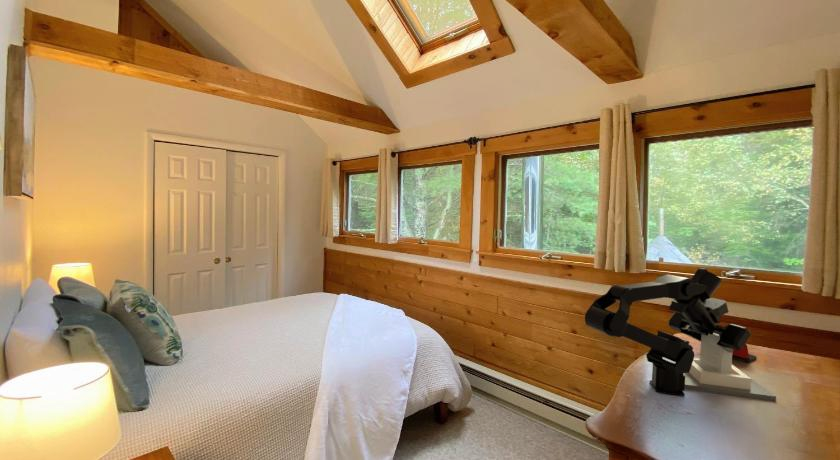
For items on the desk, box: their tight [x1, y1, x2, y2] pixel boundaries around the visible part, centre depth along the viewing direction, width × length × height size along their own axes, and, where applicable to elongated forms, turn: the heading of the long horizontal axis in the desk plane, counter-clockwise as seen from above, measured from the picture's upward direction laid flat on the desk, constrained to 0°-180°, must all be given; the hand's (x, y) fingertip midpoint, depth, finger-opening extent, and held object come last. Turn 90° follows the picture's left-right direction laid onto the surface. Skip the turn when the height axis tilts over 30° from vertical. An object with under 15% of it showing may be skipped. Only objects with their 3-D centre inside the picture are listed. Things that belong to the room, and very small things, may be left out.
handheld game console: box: [732, 343, 757, 364], centre depth 124 cm, size 12×11×7 cm
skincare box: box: [699, 333, 733, 374], centre depth 103 cm, size 6×4×12 cm
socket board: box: [673, 357, 777, 402], centre depth 104 cm, size 20×16×4 cm
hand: (719, 347), depth 104 cm, fingers closed on skincare box, 6 cm apart
